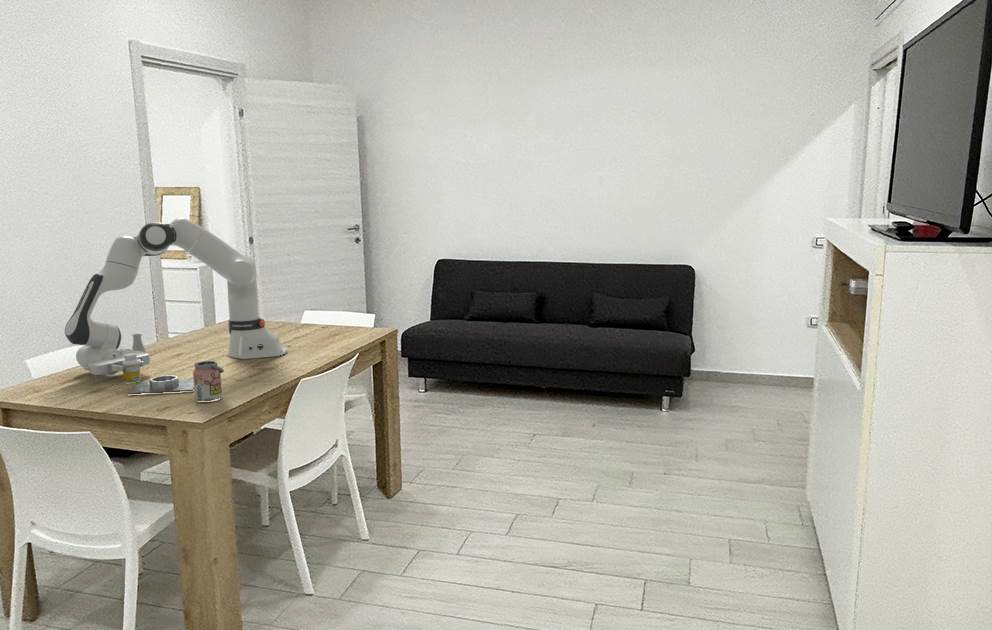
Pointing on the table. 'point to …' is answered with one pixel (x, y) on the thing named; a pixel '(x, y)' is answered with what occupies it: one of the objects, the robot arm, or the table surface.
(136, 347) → the flask
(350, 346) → the table surface
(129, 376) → the supplement bottle
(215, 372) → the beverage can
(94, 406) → the table surface
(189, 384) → the collar plate
